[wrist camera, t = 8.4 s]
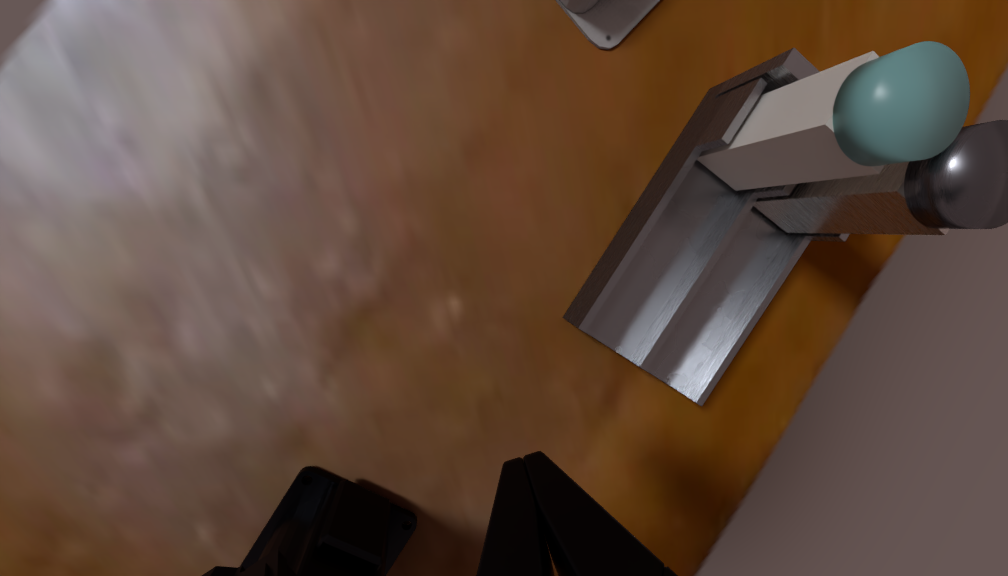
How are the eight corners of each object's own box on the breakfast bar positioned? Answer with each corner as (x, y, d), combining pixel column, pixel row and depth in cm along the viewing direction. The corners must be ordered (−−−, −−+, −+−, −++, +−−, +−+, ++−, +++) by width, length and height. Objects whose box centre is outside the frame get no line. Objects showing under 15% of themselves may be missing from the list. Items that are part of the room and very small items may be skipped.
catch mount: (675, 388, 24) (840, 497, 14) (562, 317, 22) (664, 386, 13) (813, 178, 24) (1076, 145, 14) (709, 88, 22) (930, -20, 12)
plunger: (736, 199, 21) (926, 182, 13) (686, 159, 21) (856, 115, 13) (773, 141, 21) (988, 88, 13) (725, 99, 21) (921, 16, 12)
